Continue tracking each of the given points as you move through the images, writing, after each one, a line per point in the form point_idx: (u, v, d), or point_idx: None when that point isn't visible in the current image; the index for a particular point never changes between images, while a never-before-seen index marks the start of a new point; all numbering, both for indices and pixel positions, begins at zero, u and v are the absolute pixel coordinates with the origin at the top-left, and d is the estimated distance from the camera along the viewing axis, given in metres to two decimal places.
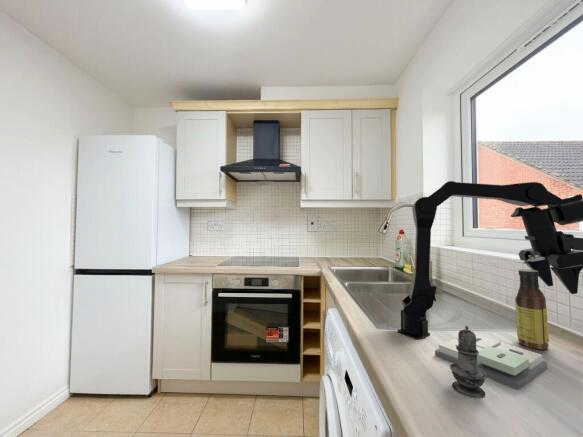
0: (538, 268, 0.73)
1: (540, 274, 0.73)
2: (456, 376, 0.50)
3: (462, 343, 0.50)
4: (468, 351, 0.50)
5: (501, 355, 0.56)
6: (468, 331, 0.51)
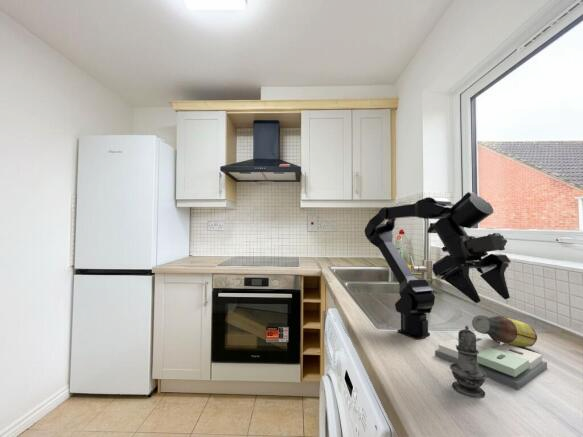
0: (489, 280, 0.63)
1: (493, 286, 0.62)
2: (456, 376, 0.50)
3: (462, 343, 0.50)
4: (468, 351, 0.50)
5: (501, 356, 0.56)
6: (468, 331, 0.51)
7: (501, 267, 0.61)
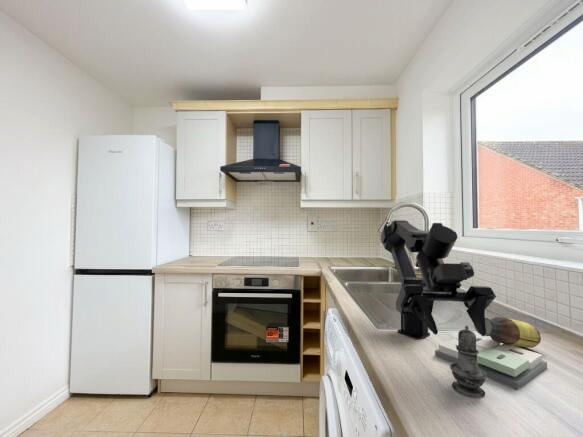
0: (472, 315, 0.57)
1: (474, 322, 0.56)
2: (456, 376, 0.50)
3: (462, 343, 0.50)
4: (468, 351, 0.50)
5: (501, 356, 0.56)
6: (468, 331, 0.51)
7: (477, 300, 0.56)
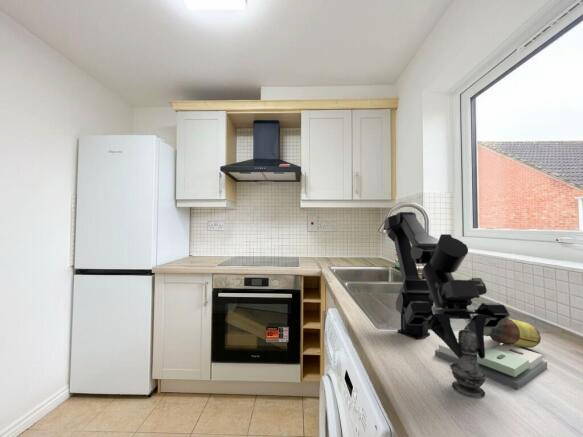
0: None
1: None
2: (456, 376, 0.50)
3: (462, 343, 0.50)
4: (468, 351, 0.50)
5: (501, 356, 0.56)
6: (468, 331, 0.50)
7: (476, 318, 0.52)
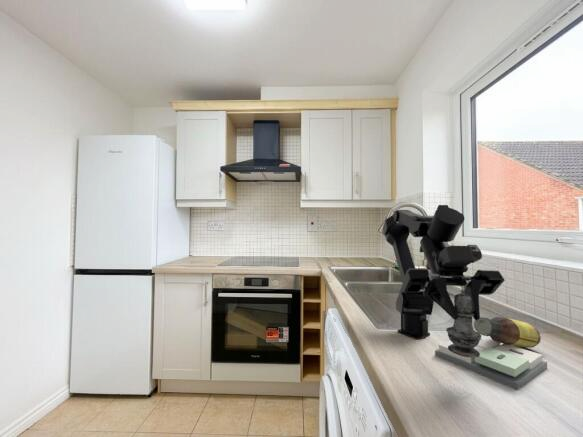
0: None
1: None
2: (452, 338, 0.52)
3: (458, 306, 0.52)
4: (463, 313, 0.51)
5: (501, 356, 0.56)
6: (464, 294, 0.52)
7: (471, 283, 0.54)
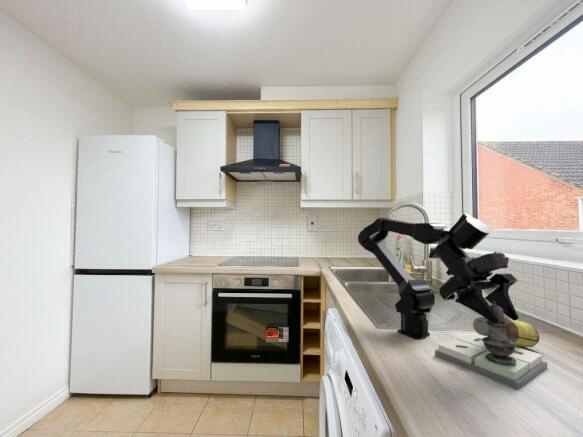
0: (495, 301, 0.61)
1: None
2: (494, 348, 0.55)
3: None
4: (500, 323, 0.56)
5: None
6: (496, 305, 0.57)
7: (503, 286, 0.59)
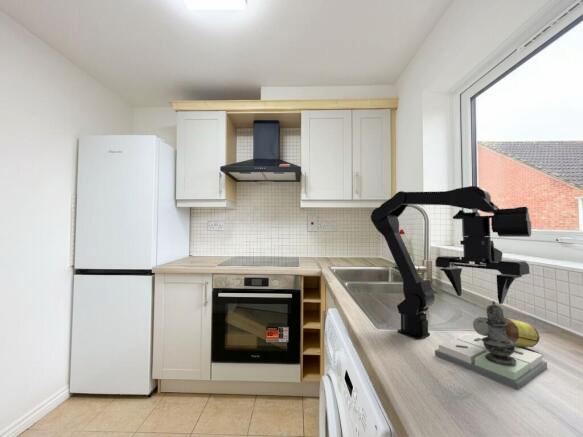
0: (455, 277, 0.70)
1: (456, 283, 0.70)
2: (494, 348, 0.55)
3: (494, 317, 0.56)
4: (500, 323, 0.56)
5: None
6: (496, 306, 0.57)
7: None
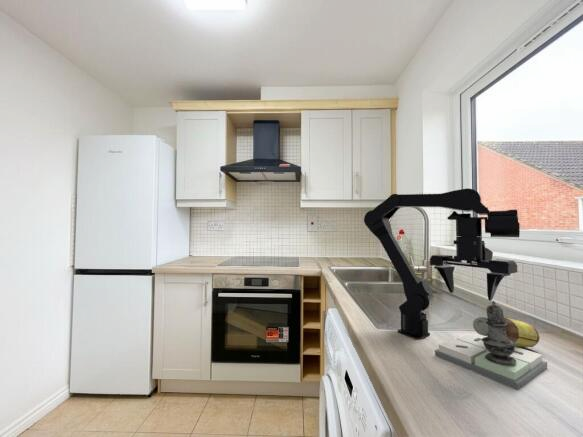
0: (447, 275, 0.73)
1: (448, 280, 0.73)
2: (494, 348, 0.55)
3: (494, 317, 0.56)
4: (500, 323, 0.56)
5: None
6: (496, 306, 0.57)
7: None
